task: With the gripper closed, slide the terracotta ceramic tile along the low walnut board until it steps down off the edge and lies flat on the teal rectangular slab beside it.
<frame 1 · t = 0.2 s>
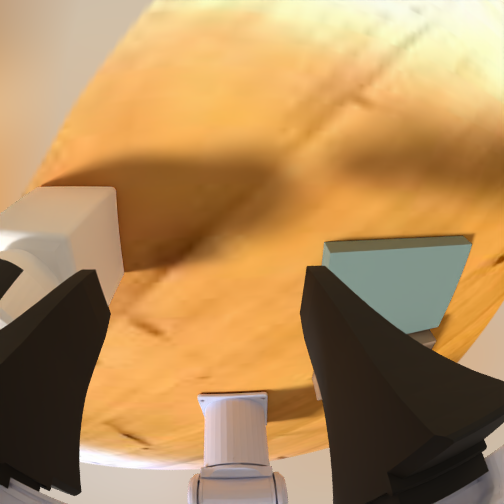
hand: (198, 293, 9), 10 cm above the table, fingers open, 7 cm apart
medicine bottle: (80, 228, 19), on the table
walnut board: (369, 351, 28), on the table
teal rectangular slab: (391, 288, 23), on the table
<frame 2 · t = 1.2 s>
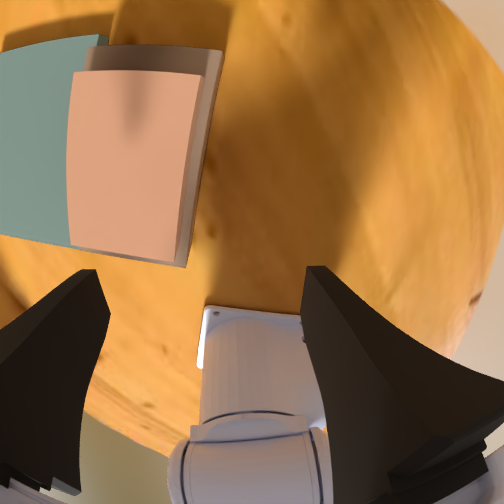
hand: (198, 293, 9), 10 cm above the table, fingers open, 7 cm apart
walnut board: (148, 148, 16), on the table
terracotta tile: (132, 159, 13), point 3 cm above the table, touching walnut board
teal rectangular slab: (36, 142, 14), on the table
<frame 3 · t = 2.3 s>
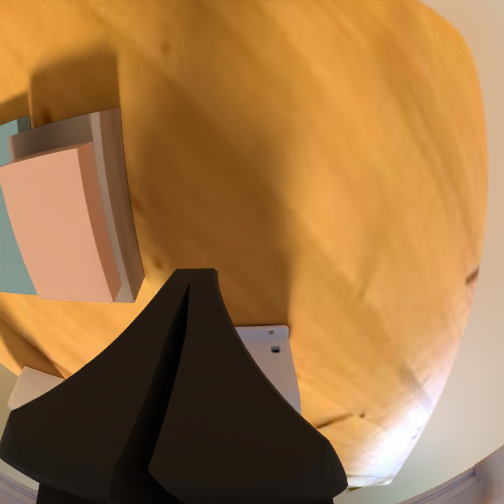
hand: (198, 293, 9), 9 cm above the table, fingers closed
medicine bottle: (52, 384, 29), on the table
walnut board: (85, 203, 17), on the table
terracotta tile: (64, 222, 14), point 3 cm above the table, touching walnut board
teal rectangular slab: (4, 213, 16), on the table
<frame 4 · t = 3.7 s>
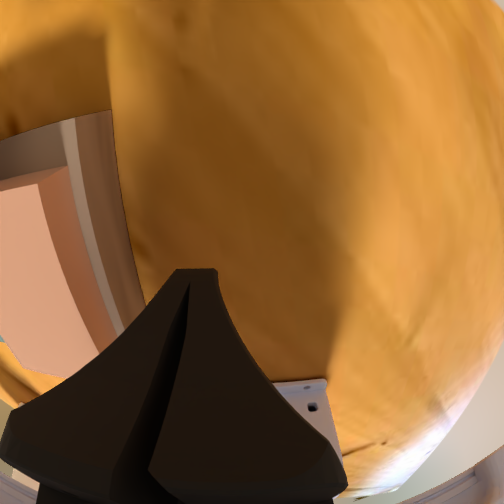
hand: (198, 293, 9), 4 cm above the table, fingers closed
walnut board: (69, 244, 12), on the table
terracotta tile: (40, 279, 10), point 3 cm above the table, touching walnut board
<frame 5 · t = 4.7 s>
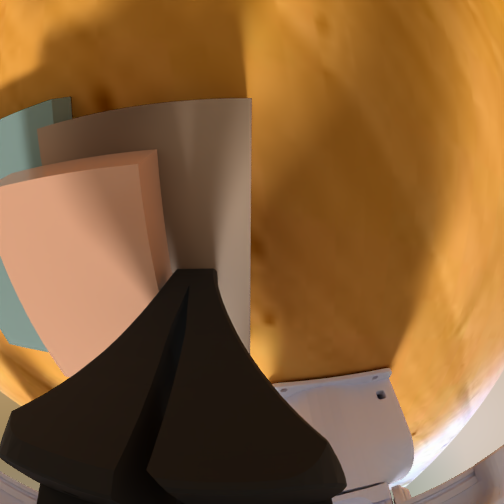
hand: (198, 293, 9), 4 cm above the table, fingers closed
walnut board: (168, 241, 12), on the table
terracotta tile: (98, 277, 10), point 3 cm above the table, touching gripper, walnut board
teal rectangular slab: (24, 247, 12), on the table
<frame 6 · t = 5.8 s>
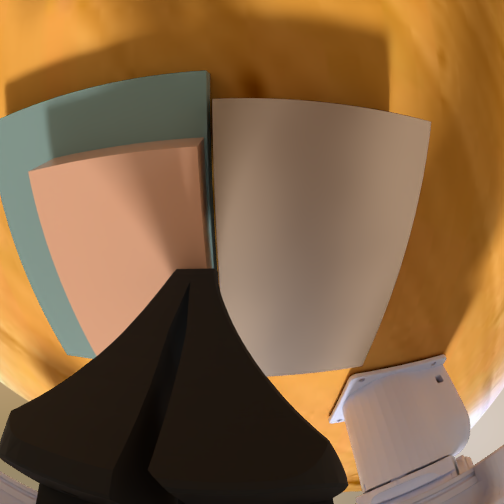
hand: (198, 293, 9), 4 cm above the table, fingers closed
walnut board: (300, 238, 13), on the table
terracotta tile: (138, 256, 11), point 1 cm above the table, touching teal rectangular slab
teal rectangular slab: (110, 242, 12), on the table
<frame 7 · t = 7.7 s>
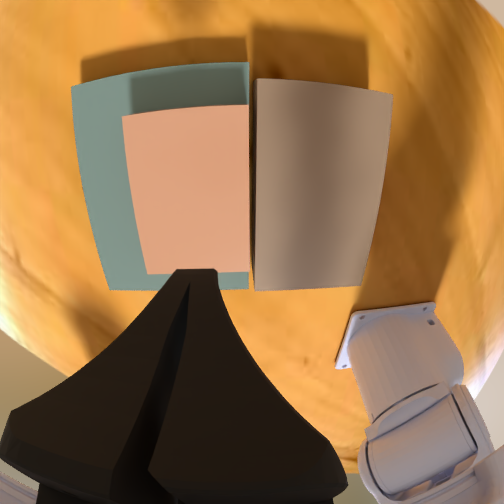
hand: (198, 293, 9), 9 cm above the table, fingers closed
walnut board: (309, 180, 17), on the table
terracotta tile: (193, 187, 15), point 1 cm above the table, touching teal rectangular slab
teal rectangular slab: (165, 183, 17), on the table
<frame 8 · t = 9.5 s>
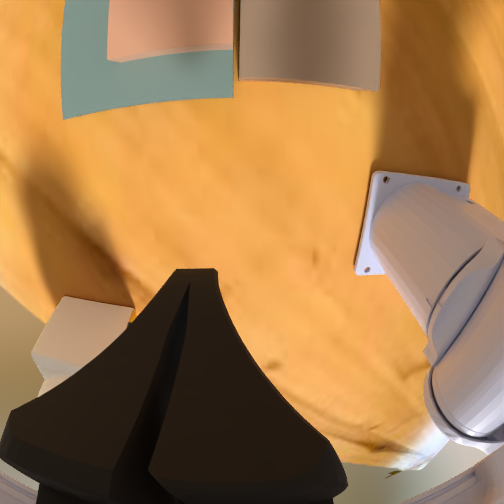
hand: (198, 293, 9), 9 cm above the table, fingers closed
medicine bottle: (104, 327, 23), on the table
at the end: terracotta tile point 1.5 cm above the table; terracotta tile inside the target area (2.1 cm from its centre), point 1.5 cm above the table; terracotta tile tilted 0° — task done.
